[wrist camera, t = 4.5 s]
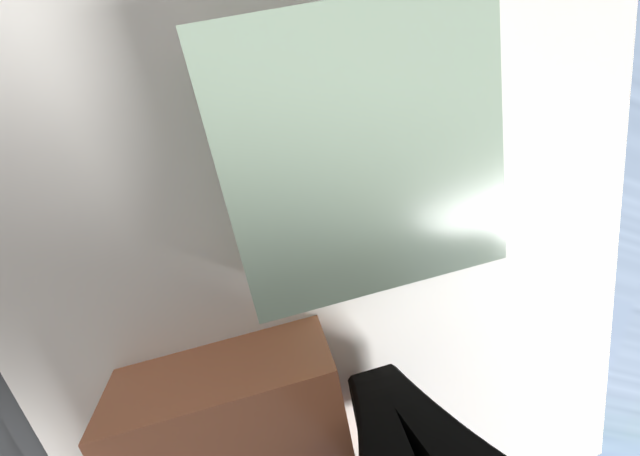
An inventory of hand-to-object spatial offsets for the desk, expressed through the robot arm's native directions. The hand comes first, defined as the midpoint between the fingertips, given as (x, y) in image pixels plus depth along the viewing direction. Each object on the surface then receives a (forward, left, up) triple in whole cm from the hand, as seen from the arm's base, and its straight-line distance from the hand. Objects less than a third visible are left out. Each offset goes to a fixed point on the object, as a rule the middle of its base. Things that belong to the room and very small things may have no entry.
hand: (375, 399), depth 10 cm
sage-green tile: (+6, 0, -1) cm, 7 cm away
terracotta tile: (0, +4, -1) cm, 4 cm away
